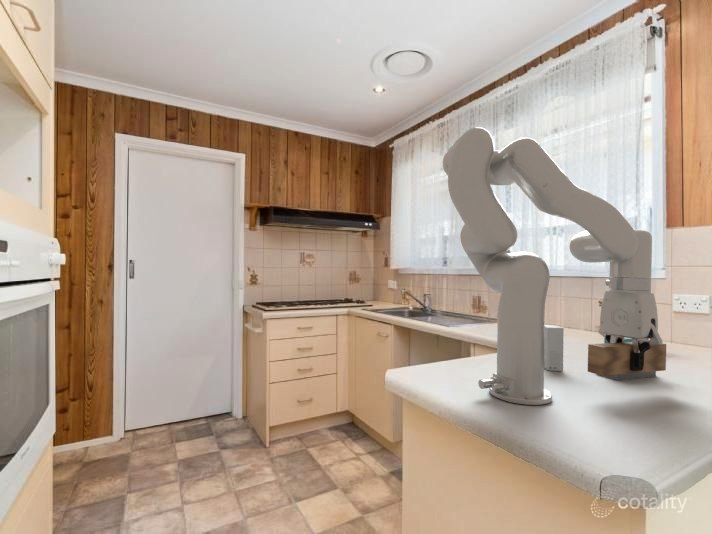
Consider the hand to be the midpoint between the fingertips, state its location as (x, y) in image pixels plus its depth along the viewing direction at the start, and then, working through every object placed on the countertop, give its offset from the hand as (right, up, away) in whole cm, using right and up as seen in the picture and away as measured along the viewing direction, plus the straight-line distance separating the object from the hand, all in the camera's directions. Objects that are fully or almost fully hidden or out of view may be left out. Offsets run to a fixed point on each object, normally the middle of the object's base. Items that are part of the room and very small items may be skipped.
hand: (627, 367), depth 82 cm
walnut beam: (0, -1, 0) cm, 1 cm away
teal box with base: (+12, -7, +16) cm, 21 cm away
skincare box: (-5, -7, +22) cm, 24 cm away
